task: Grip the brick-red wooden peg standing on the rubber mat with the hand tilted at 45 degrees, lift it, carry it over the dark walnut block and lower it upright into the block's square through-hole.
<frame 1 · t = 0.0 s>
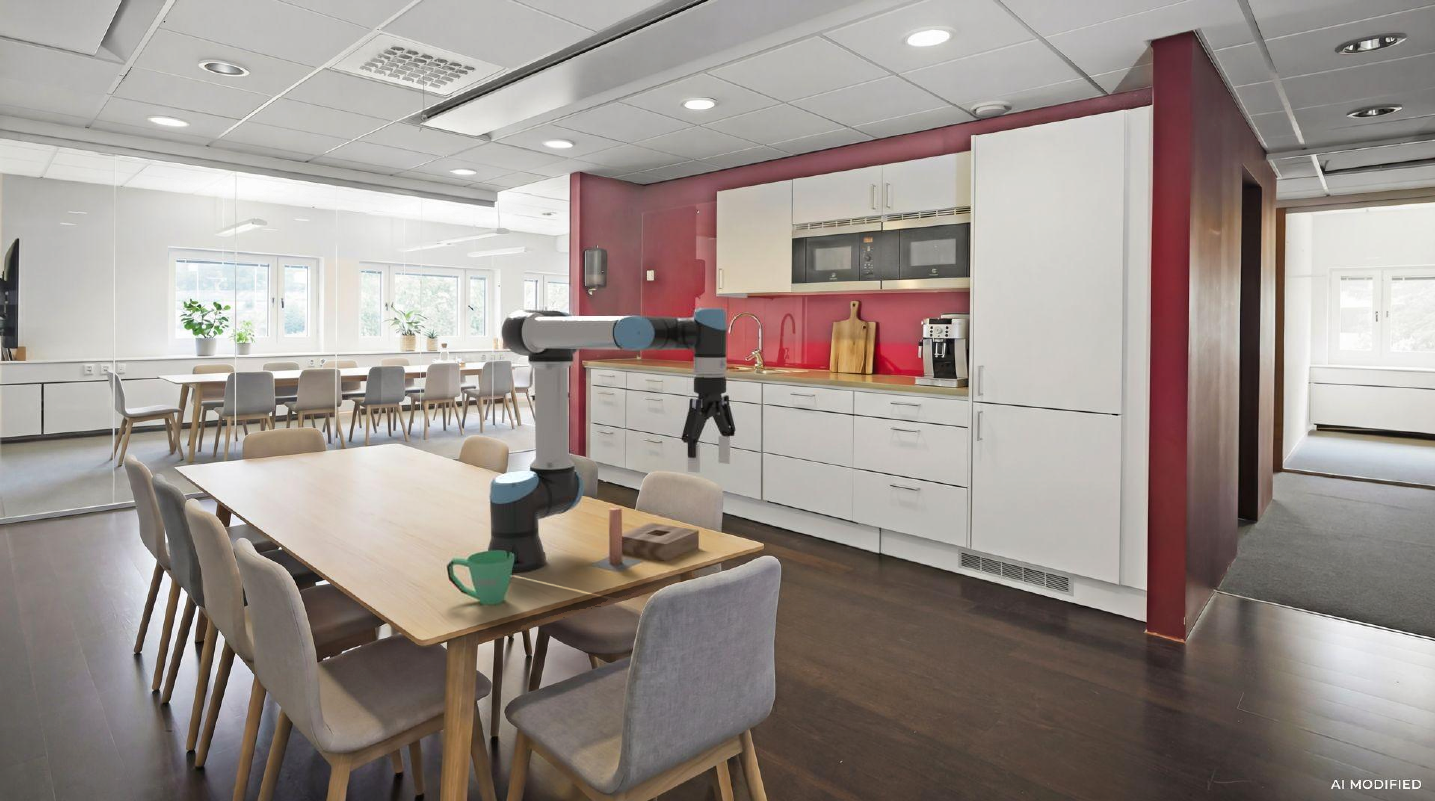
hand: (709, 467, 173), 28 cm above the table, tool pointing down, fingers open, 13 cm apart
peg: (615, 563, 190), resting on mat
hole block: (658, 550, 203), on the table
mug: (481, 601, 164), on the table
mat: (615, 564, 190), on the table
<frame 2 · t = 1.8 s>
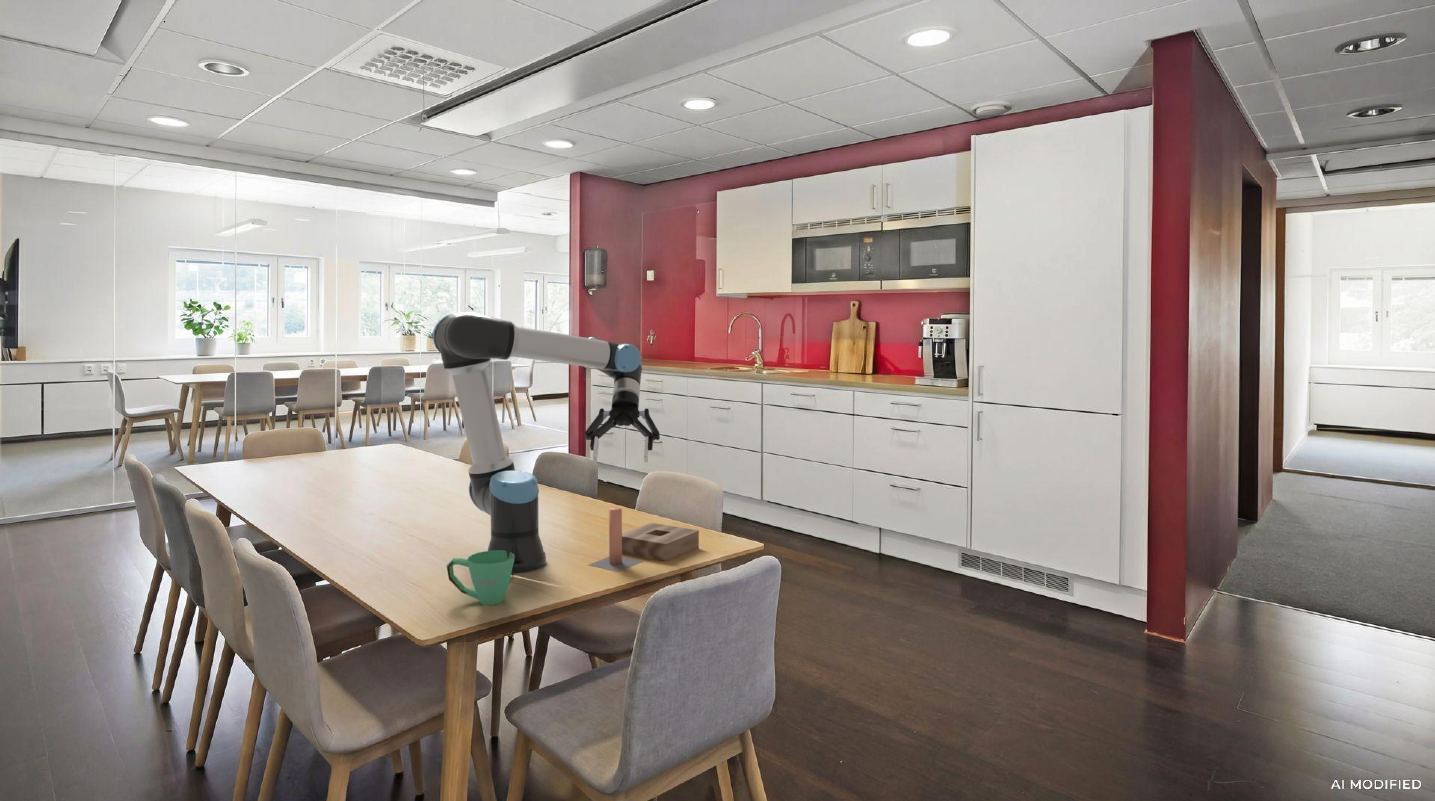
hand: (620, 459, 198), 26 cm above the table, tool tilted 45°, fingers open, 13 cm apart
nothing on the table moved.
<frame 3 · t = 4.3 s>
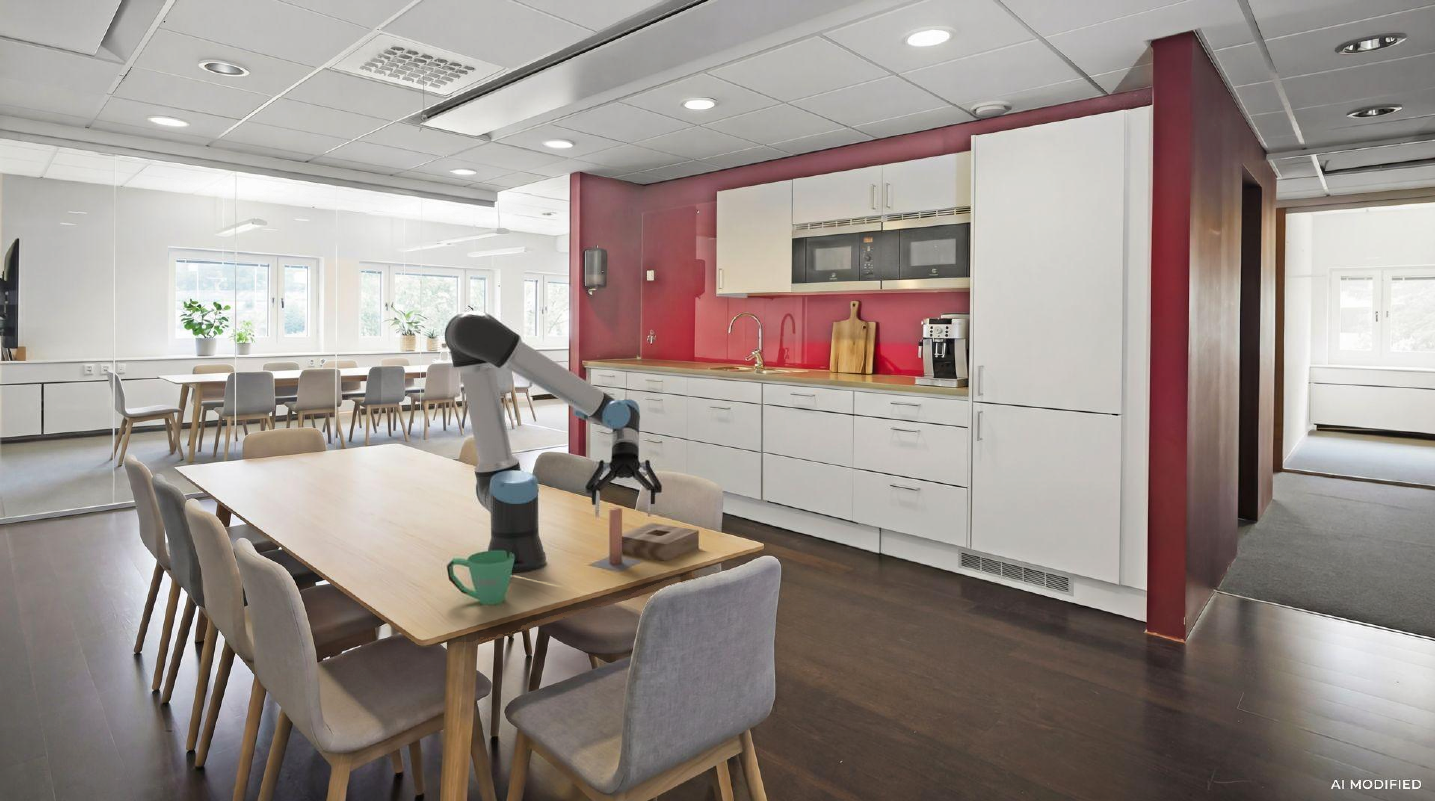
hand: (623, 514, 195), 12 cm above the table, tool tilted 45°, fingers open, 13 cm apart
nothing on the table moved.
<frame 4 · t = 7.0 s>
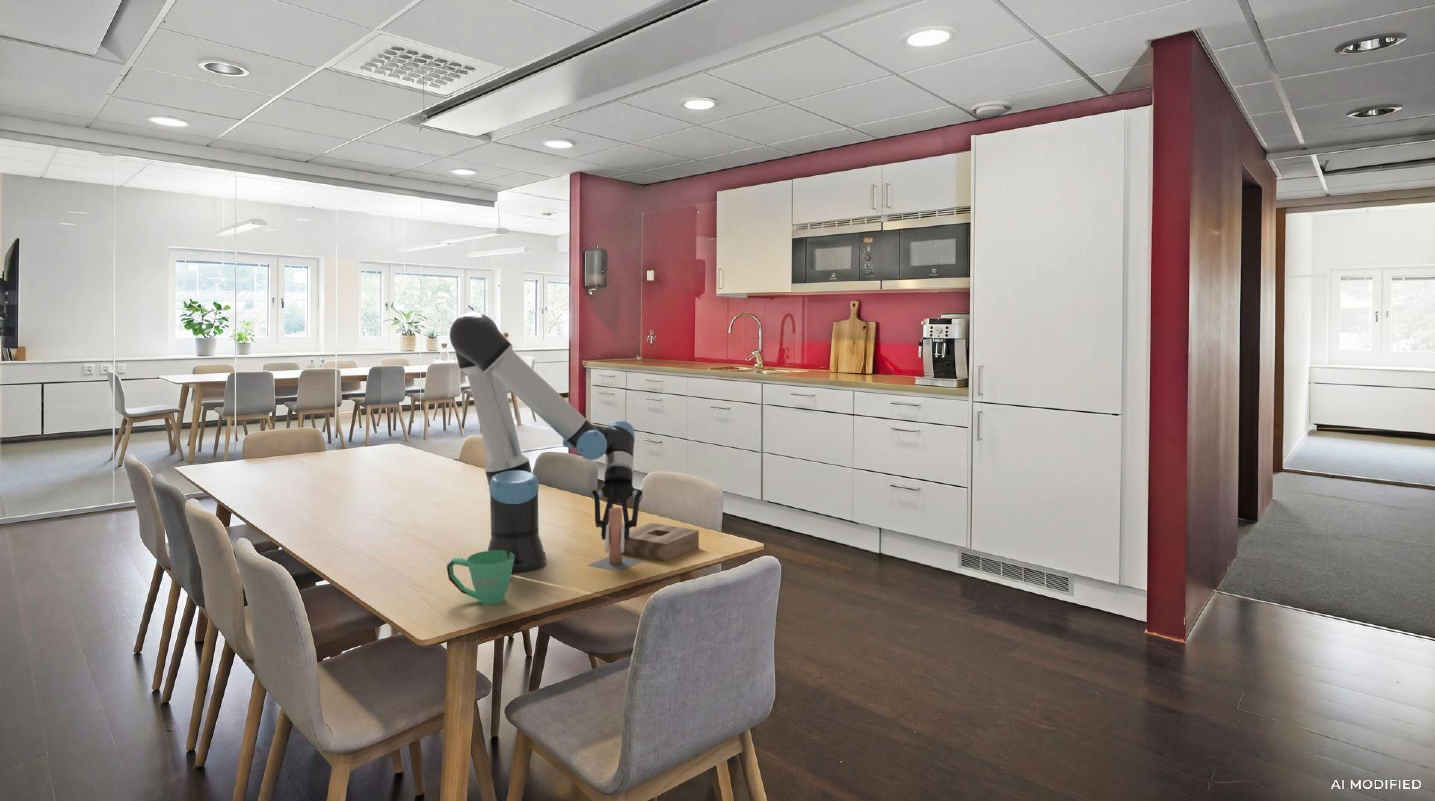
hand: (614, 549, 186), 5 cm above the table, tool tilted 45°, fingers closed on peg, 3 cm apart
peg: (615, 562, 190), point 1 cm above the table, touching gripper, mat
everything else where it was.
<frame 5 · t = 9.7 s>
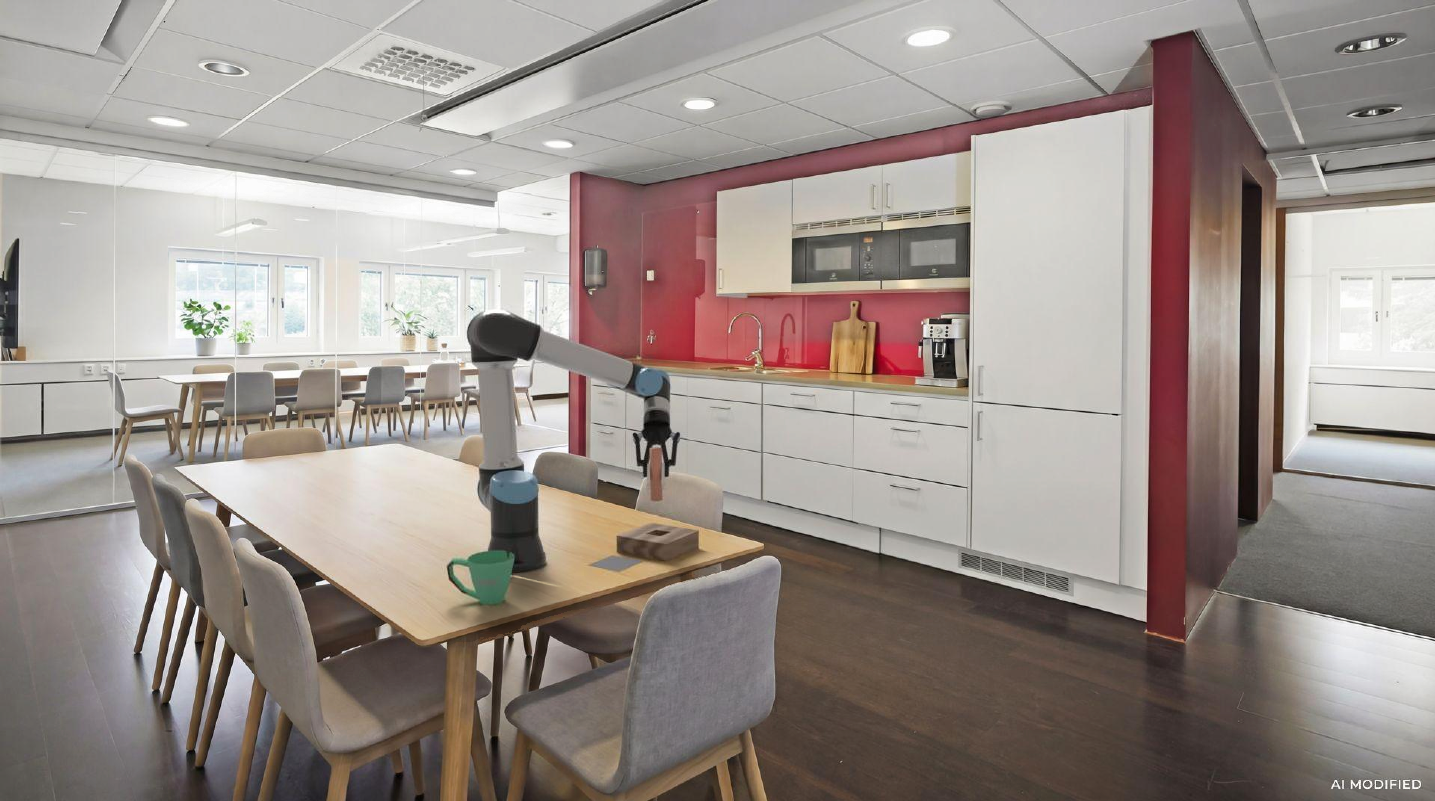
hand: (655, 486, 196), 19 cm above the table, tool tilted 45°, fingers closed on peg, 3 cm apart
peg: (656, 499, 200), point 14 cm above the table, touching gripper
everything else where it was.
when the fingers open (8 cm above the table, at t = 12.4 s): peg drops 3 cm, resting in hole block.
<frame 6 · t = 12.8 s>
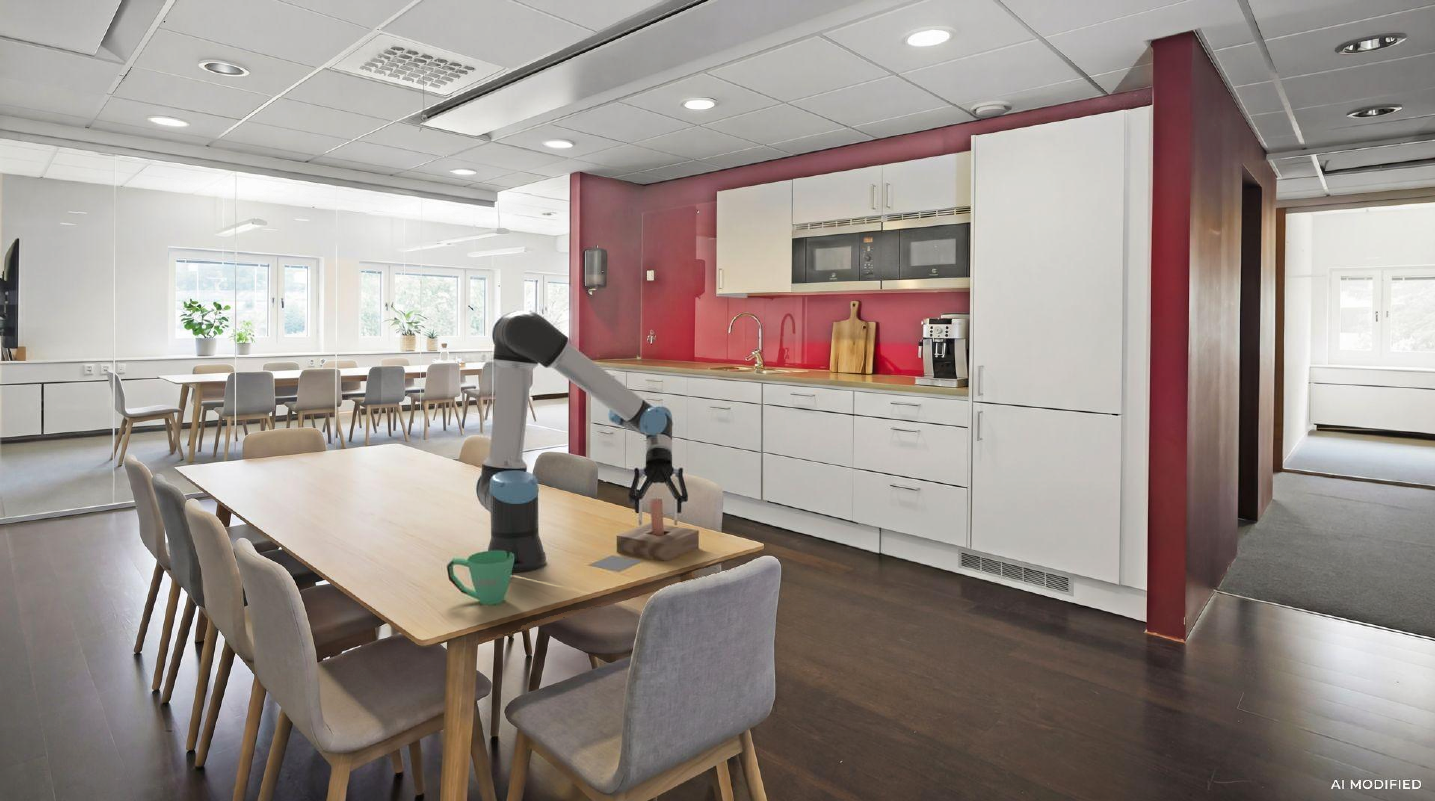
hand: (658, 522, 199), 9 cm above the table, tool tilted 45°, fingers open, 9 cm apart
peg: (658, 550, 203), resting in hole block
everything else where it was.
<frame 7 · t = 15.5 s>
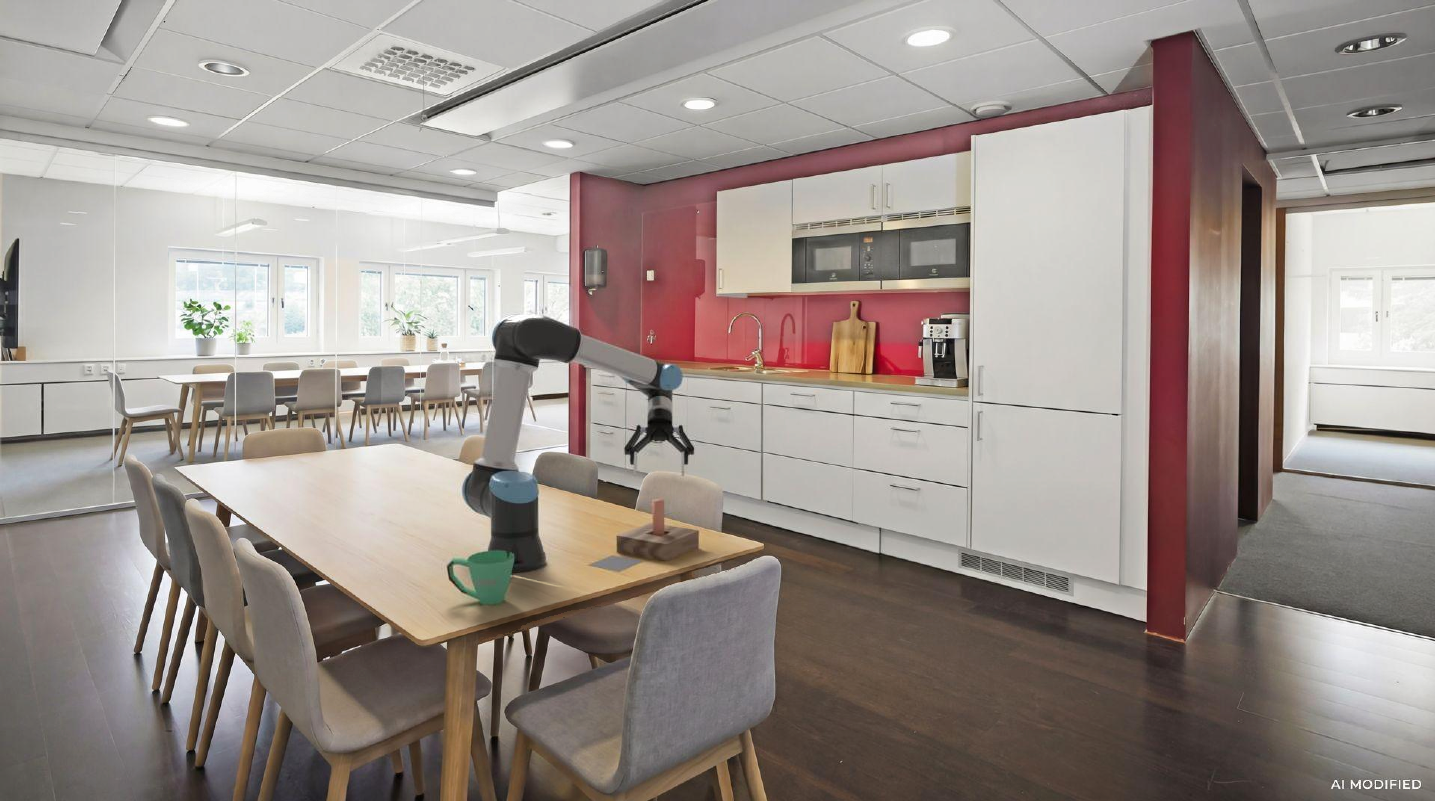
hand: (659, 473, 211), 19 cm above the table, tool tilted 45°, fingers open, 13 cm apart
nothing on the table moved.
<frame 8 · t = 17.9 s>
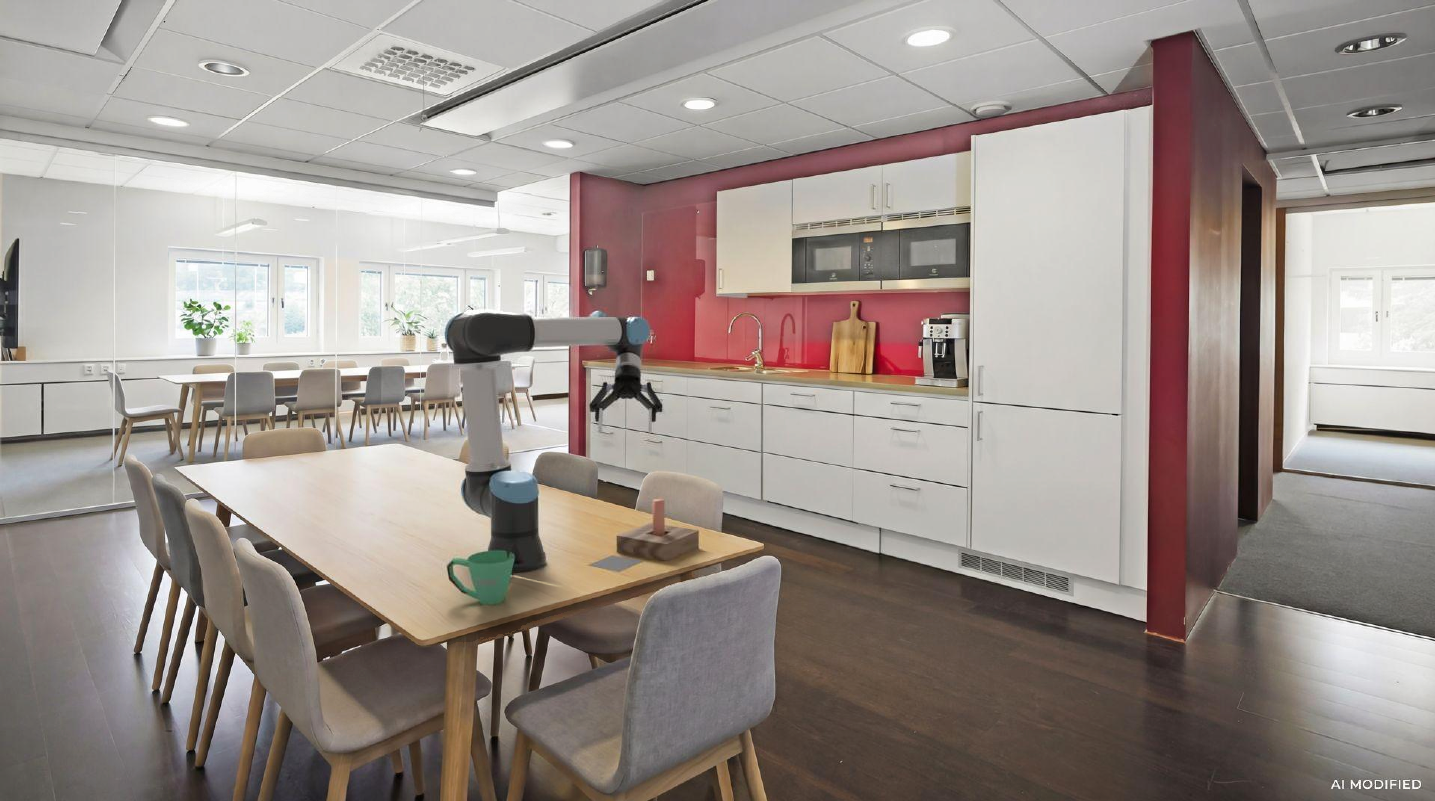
hand: (624, 430, 203), 33 cm above the table, tool tilted 45°, fingers open, 13 cm apart
nothing on the table moved.
at the end: peg 0.1 cm off-centre on the hole block, point 0.0 cm above the hole block's base; peg tilted 0°; the gripper is holding nothing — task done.
